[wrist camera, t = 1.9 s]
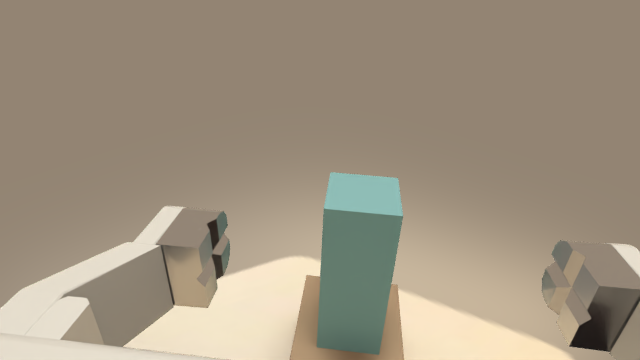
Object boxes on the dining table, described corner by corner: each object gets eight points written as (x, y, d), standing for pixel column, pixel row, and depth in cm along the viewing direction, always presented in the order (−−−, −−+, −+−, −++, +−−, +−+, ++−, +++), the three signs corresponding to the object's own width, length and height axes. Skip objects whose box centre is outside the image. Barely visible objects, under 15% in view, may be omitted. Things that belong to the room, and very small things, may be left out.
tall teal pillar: (316, 347, 28) (323, 208, 22) (323, 300, 32) (330, 172, 26) (379, 354, 28) (403, 216, 22) (377, 306, 32) (397, 178, 26)
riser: (286, 429, 29) (285, 379, 26) (305, 322, 38) (306, 275, 35) (394, 444, 28) (407, 395, 25) (388, 331, 37) (397, 284, 34)
